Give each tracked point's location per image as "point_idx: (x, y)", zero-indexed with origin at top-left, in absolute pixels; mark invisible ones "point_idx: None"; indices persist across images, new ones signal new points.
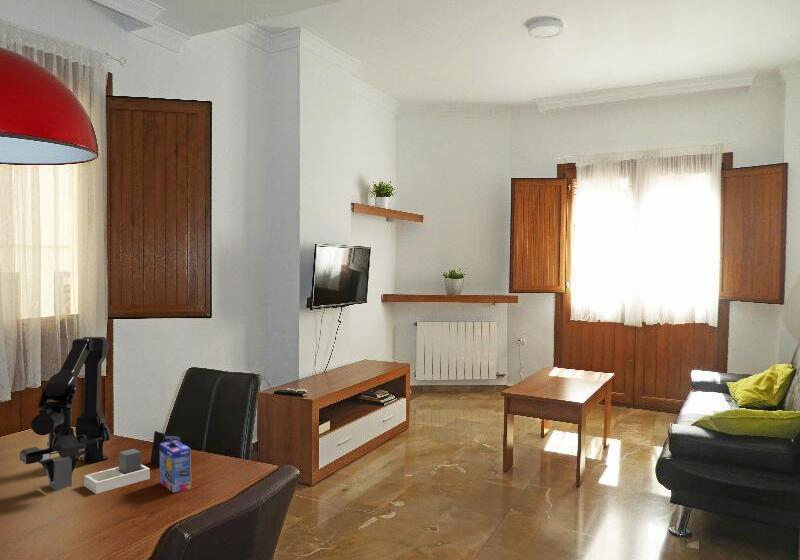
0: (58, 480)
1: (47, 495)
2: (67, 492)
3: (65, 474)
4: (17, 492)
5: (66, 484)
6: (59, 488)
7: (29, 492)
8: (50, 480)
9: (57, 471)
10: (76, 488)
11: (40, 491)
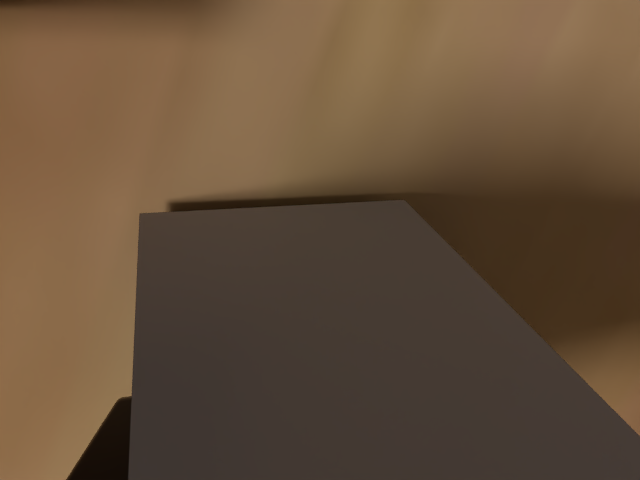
0: (417, 281)
1: (518, 129)
2: (281, 17)
3: (305, 354)
4: None
5: (241, 230)
6: (344, 210)
7: None
8: None
9: (560, 427)
10: (87, 97)
11: None
